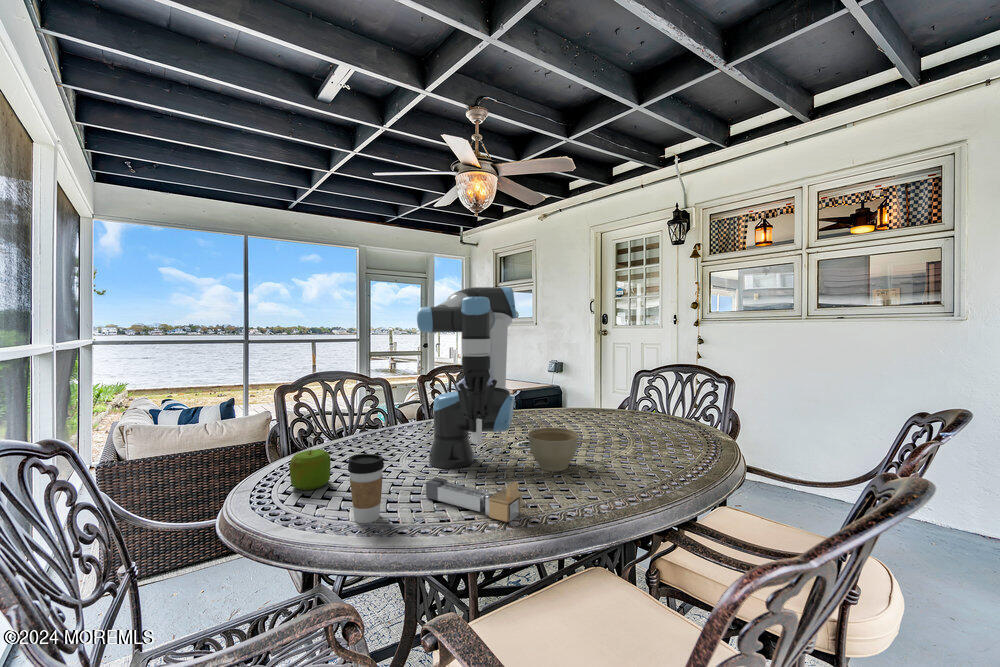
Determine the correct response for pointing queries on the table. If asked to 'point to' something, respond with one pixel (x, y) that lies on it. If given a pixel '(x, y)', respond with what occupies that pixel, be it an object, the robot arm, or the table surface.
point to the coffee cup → (366, 486)
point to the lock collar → (504, 502)
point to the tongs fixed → (465, 498)
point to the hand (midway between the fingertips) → (476, 443)
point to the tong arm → (461, 487)
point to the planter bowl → (553, 447)
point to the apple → (310, 469)
